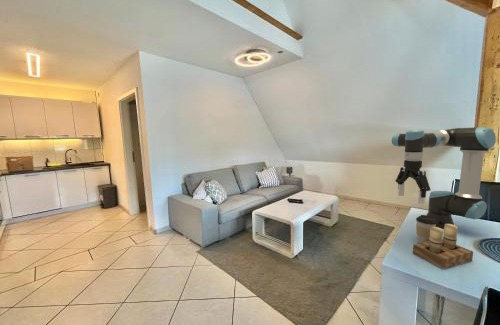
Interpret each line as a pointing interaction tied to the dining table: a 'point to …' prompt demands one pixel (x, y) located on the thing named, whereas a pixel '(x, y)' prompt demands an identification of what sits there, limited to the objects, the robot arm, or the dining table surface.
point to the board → (443, 255)
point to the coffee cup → (424, 227)
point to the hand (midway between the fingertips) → (410, 199)
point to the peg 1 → (435, 239)
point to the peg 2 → (450, 236)
